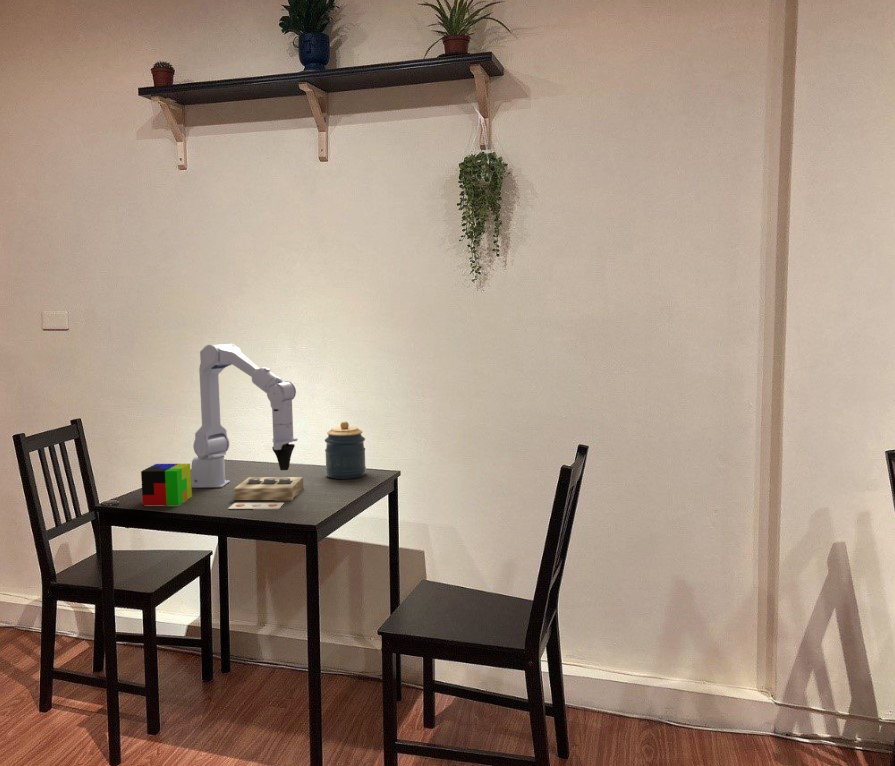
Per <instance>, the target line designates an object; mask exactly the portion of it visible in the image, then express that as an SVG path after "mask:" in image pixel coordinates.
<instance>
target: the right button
mask: <svg viewBox="0 0 895 766" xmlns="http://www.w3.org/2000/svg"><path fill="white" fill-rule="evenodd" d="M279 484H290V478H281V479H279Z"/></svg>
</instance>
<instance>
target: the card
mask: <svg viewBox="0 0 895 766" xmlns="http://www.w3.org/2000/svg"><path fill="white" fill-rule="evenodd" d="M284 503H285V502H234V503H232V504H231V505H230V506H229V507H228V508H227V510H228V509H253V510H280V509H281V508H282V507H283V506H284V505H285V504H284ZM283 504H284V505H283ZM282 505H283V506H282ZM281 506H282V507H281Z"/></svg>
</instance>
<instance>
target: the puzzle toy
mask: <svg viewBox="0 0 895 766" xmlns="http://www.w3.org/2000/svg"><path fill="white" fill-rule="evenodd" d="M140 475H141V477H140V479H141V494H142V496H141V497H142V506H143V505H180V504H181V503H183V502H184V501H186V500H187V499H189V498H190V497H193V492H192V487H191V486H192V470H191V463H154V464H153V465H151V466H149V467H147V468H145V469H142V470H141V471H140ZM190 499H191V498H190ZM190 499H189V500H190ZM187 501H188V500H187ZM187 501H186V502H187ZM184 503H185V502H184ZM184 503H183V504H184ZM181 505H182V504H181ZM181 505H180V506H181Z"/></svg>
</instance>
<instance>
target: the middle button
mask: <svg viewBox="0 0 895 766" xmlns="http://www.w3.org/2000/svg"><path fill="white" fill-rule="evenodd" d="M264 484H275V478H266V479H264Z"/></svg>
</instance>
